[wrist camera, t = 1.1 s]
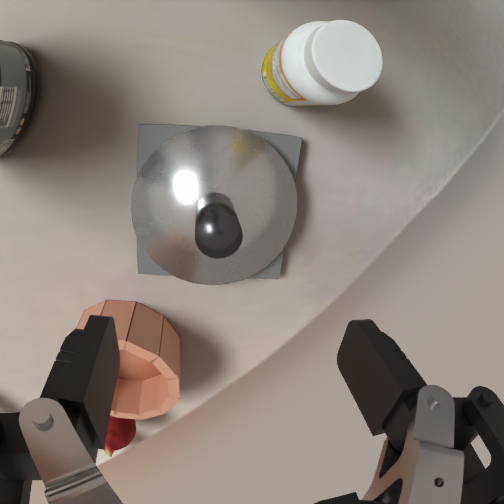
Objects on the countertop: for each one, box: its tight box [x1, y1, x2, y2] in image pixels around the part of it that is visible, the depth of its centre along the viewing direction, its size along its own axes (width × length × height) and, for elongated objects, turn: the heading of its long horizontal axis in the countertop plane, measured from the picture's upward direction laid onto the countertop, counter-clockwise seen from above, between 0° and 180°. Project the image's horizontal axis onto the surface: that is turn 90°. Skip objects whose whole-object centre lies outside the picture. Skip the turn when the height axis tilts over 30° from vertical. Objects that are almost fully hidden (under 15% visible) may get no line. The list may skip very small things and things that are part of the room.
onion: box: [104, 415, 136, 456], centre depth 29 cm, size 6×6×8 cm
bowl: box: [76, 300, 181, 420], centre depth 26 cm, size 11×11×6 cm
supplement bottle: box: [260, 20, 383, 106], centre depth 17 cm, size 5×5×10 cm
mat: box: [137, 124, 302, 279], centre depth 24 cm, size 12×12×1 cm
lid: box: [131, 125, 297, 285], centre depth 21 cm, size 12×12×6 cm
